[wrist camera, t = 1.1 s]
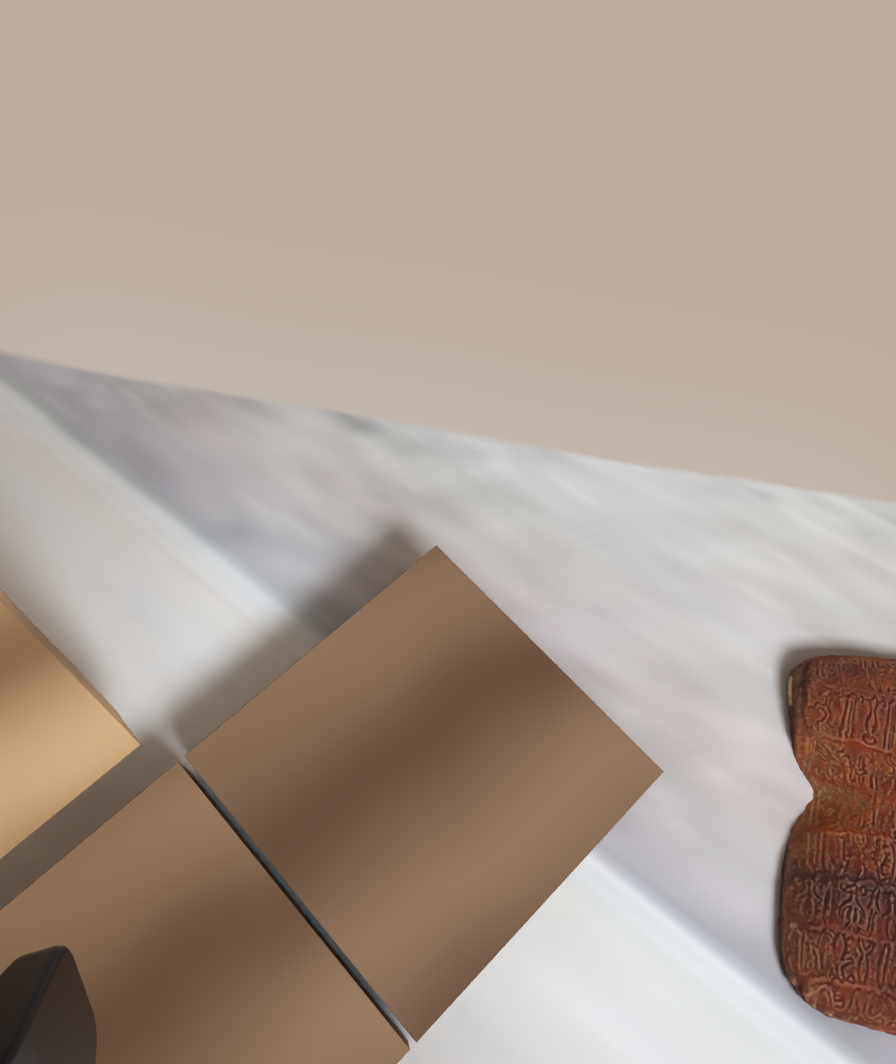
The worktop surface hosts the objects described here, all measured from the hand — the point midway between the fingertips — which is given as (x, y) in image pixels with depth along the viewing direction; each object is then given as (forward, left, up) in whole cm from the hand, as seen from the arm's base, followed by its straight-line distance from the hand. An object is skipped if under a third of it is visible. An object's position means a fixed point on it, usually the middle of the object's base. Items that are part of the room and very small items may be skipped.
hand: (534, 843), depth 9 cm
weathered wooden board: (-1, +4, -15) cm, 15 cm away
